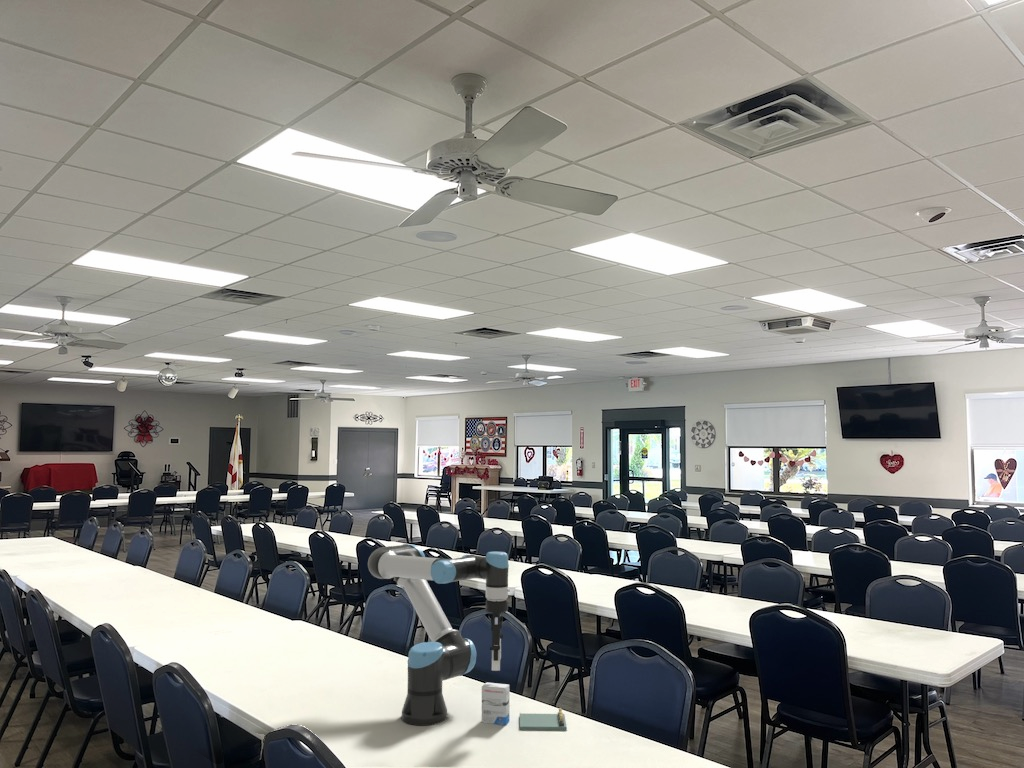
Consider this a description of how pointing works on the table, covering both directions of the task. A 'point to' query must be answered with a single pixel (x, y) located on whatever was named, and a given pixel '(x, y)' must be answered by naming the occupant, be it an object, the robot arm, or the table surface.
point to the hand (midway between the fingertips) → (496, 664)
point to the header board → (543, 721)
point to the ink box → (495, 703)
